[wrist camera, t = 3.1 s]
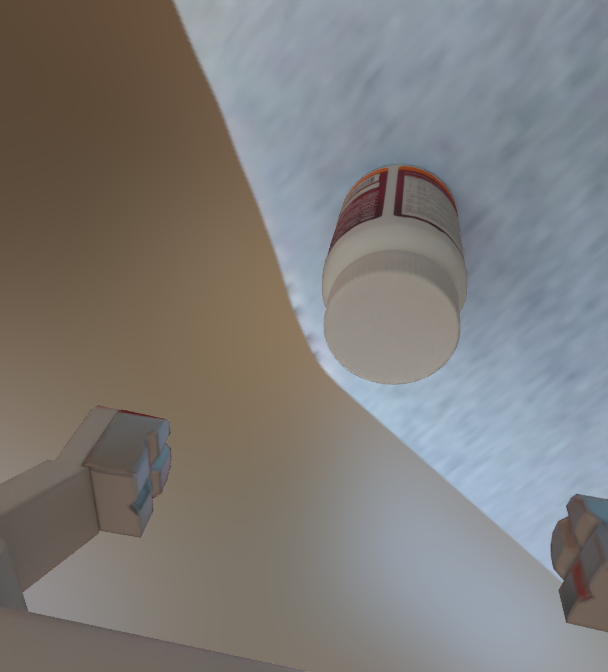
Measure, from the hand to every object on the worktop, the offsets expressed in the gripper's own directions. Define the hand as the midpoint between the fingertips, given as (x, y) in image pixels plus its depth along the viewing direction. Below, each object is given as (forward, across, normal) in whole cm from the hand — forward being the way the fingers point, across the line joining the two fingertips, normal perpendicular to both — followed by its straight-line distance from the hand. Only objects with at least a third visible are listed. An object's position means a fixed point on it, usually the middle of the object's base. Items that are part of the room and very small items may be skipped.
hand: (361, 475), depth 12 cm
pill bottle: (+22, -1, +3) cm, 22 cm away
